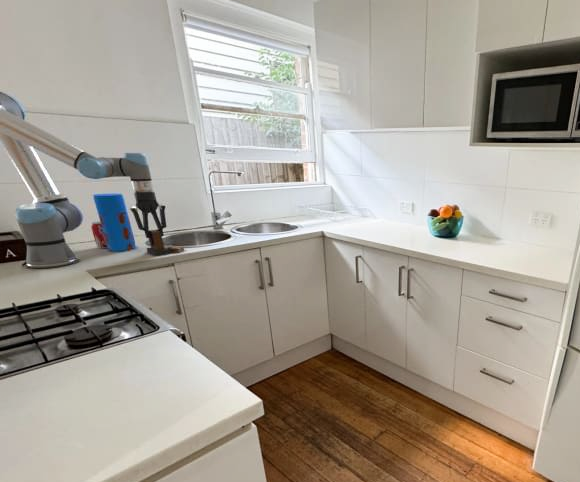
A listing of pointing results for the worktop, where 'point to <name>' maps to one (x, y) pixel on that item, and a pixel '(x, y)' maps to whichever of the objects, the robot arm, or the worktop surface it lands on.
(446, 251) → the worktop surface
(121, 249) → the thermos
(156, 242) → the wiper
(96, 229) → the soda can
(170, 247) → the cork chip
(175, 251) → the cork chip
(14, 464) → the worktop surface
